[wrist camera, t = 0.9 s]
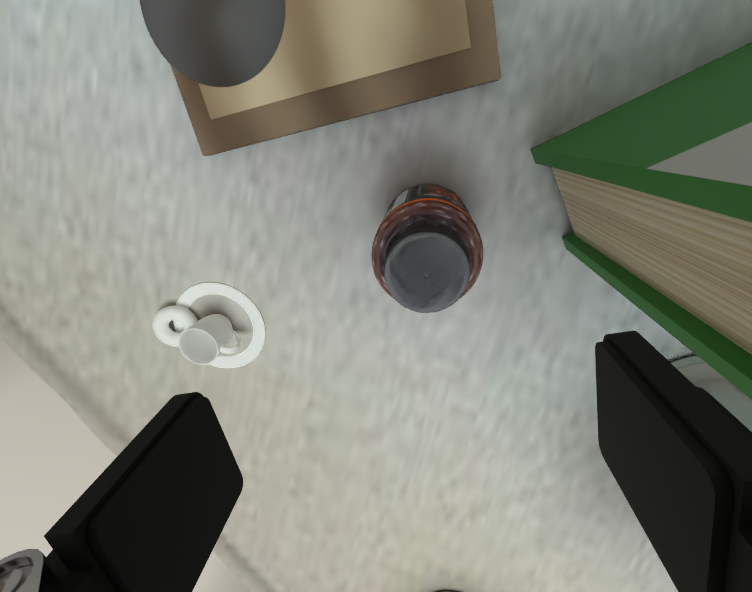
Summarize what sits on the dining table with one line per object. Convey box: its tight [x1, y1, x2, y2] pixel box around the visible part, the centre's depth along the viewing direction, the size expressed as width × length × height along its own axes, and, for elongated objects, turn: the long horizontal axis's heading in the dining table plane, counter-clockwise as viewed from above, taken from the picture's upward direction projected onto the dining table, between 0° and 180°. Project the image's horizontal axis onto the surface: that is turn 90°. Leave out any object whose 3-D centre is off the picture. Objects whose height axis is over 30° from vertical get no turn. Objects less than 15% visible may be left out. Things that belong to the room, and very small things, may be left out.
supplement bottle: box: [372, 184, 483, 313], centre depth 24 cm, size 6×6×11 cm
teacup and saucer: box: [152, 282, 266, 368], centre depth 33 cm, size 9×8×4 cm
